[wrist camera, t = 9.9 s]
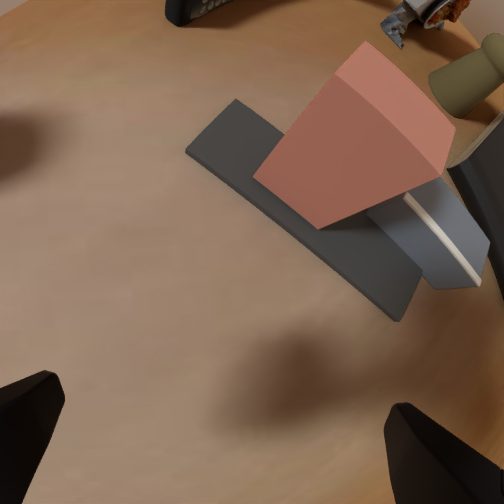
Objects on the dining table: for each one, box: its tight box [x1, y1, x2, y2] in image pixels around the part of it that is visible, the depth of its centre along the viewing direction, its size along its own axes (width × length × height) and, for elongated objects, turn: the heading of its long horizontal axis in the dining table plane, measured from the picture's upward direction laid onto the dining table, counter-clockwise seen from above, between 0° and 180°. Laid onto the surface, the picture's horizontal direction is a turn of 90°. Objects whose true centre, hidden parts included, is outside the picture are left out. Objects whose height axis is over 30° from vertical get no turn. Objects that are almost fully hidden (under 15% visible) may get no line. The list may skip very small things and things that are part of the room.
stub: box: [253, 41, 456, 229], centre depth 14 cm, size 3×5×10 cm, turn 54°
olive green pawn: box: [429, 33, 504, 119], centre depth 22 cm, size 6×6×11 cm
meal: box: [381, 0, 471, 49], centre depth 22 cm, size 15×4×13 cm, turn 129°
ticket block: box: [185, 99, 490, 322], centre depth 18 cm, size 8×20×5 cm, turn 54°
